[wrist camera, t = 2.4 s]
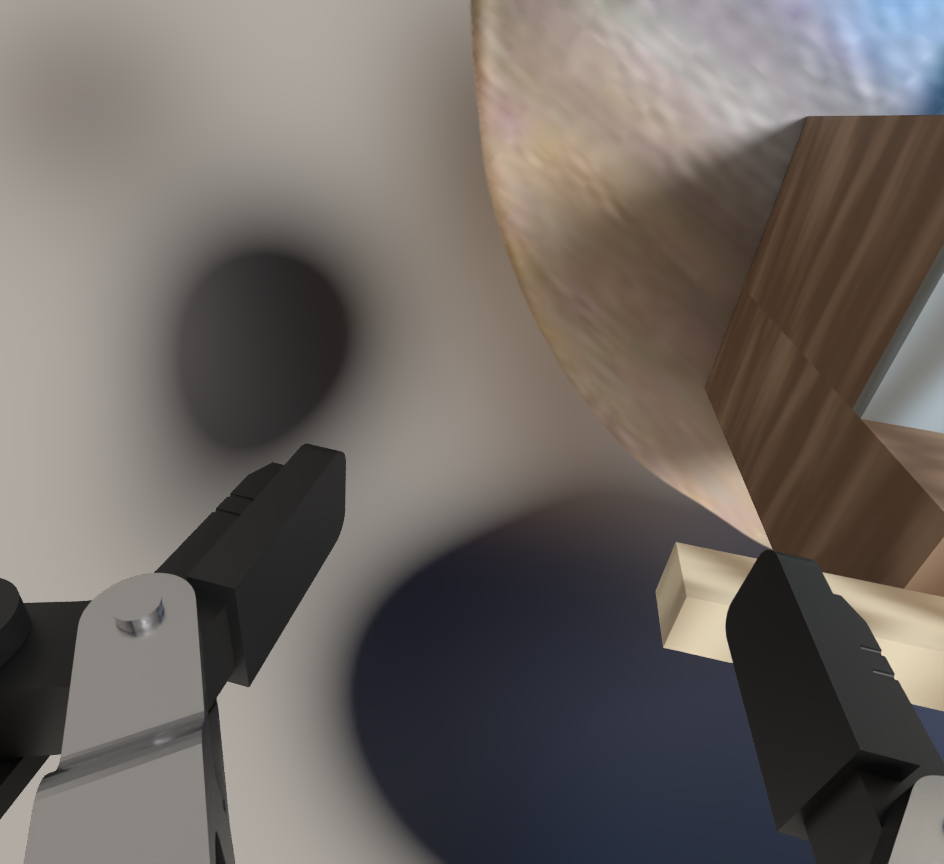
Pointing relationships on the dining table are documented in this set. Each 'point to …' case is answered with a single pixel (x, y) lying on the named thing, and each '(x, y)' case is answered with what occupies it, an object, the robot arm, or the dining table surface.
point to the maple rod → (883, 607)
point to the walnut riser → (847, 354)
